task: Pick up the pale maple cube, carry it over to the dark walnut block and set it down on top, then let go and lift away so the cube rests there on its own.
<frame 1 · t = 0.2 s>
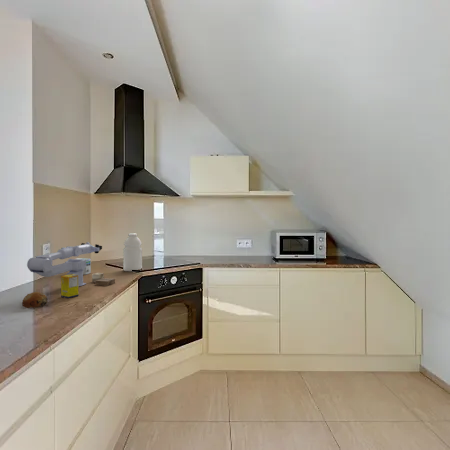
hand: (96, 247, 211), 21 cm above the worktop, tool horizontal, fingers open, 7 cm apart
maple cube: (98, 281, 205), on the worktop
light bulb box: (81, 274, 231), on the worktop
bread roll: (35, 306, 149), on the worktop
walnut block: (105, 284, 197), on the worktop
supplement box: (69, 296, 166), on the worktop
bottle: (132, 270, 249), on the worktop
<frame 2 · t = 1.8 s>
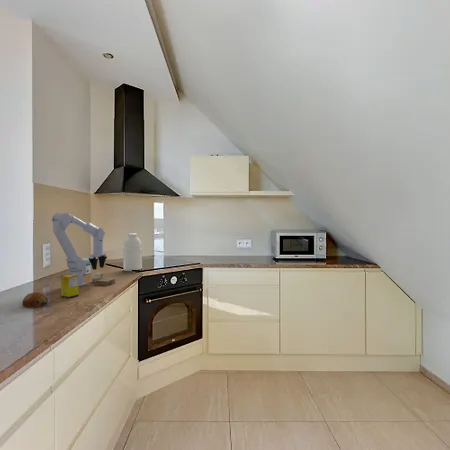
hand: (98, 268, 205), 8 cm above the worktop, tool pointing down, fingers open, 7 cm apart
nothing on the worktop moved.
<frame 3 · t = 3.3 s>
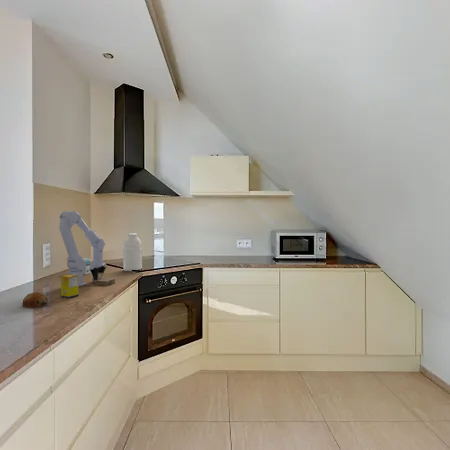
hand: (98, 279, 205), 1 cm above the worktop, tool pointing down, fingers closed on maple cube, 5 cm apart
maple cube: (98, 281, 205), on the worktop, touching gripper
everything else where it was.
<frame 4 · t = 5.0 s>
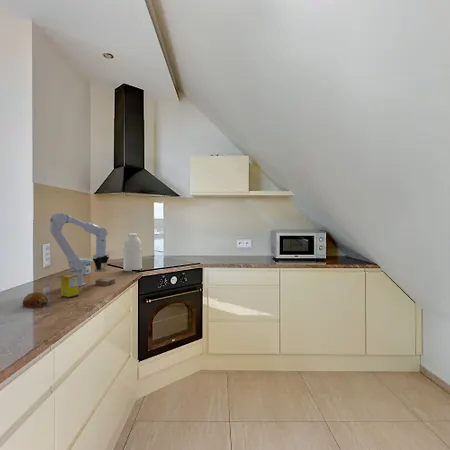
hand: (101, 268, 202), 8 cm above the worktop, tool pointing down, fingers closed on maple cube, 5 cm apart
maple cube: (101, 271, 202), point 7 cm above the worktop, touching gripper
everything else where it was.
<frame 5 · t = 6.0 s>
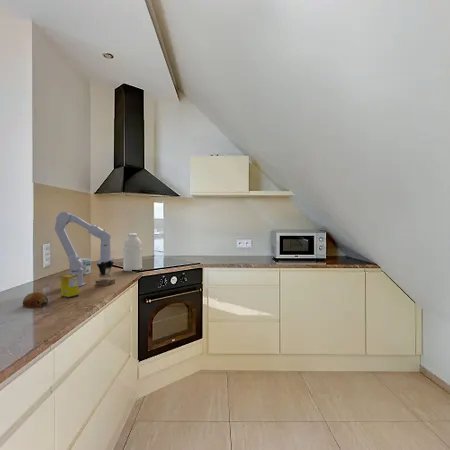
hand: (105, 274, 197), 6 cm above the worktop, tool pointing down, fingers closed on maple cube, 5 cm apart
maple cube: (105, 276, 197), point 4 cm above the worktop, touching gripper
everything else where it was.
when the fingers open (6 cm above the worktop, at t = 6.8 s): maple cube drops 2 cm, resting on walnut block.
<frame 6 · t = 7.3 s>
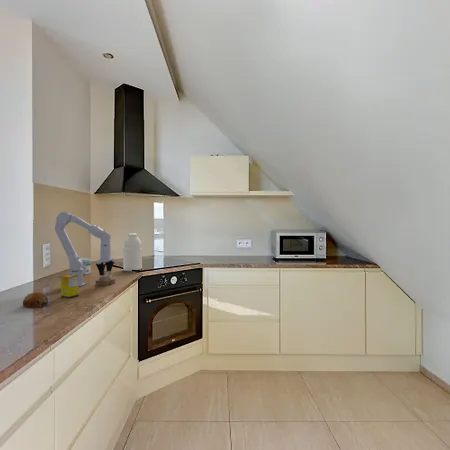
hand: (105, 274, 197), 6 cm above the worktop, tool pointing down, fingers open, 7 cm apart
maple cube: (105, 279, 197), point 3 cm above the worktop, touching walnut block
walnut block: (105, 284, 197), on the worktop, touching maple cube
everything else where it was.
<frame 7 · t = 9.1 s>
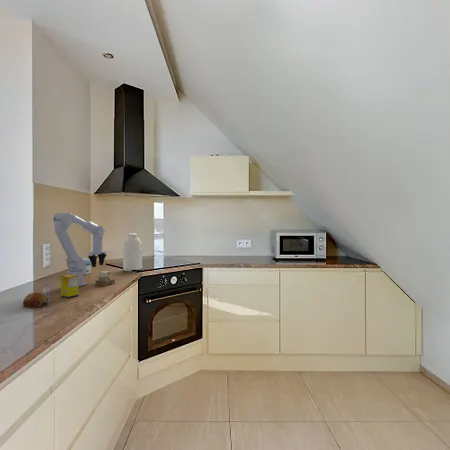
hand: (97, 266, 206), 9 cm above the worktop, tool pointing down, fingers open, 7 cm apart
nothing on the worktop moved.
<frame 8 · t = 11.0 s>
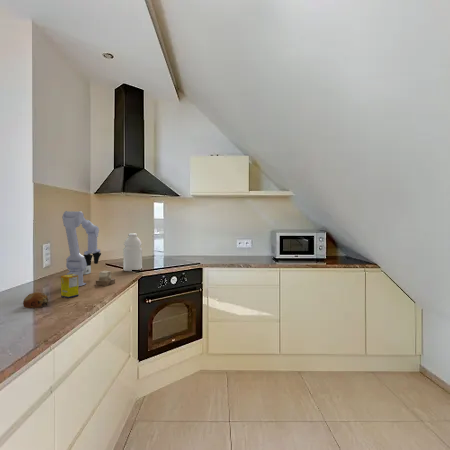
hand: (92, 264, 212), 9 cm above the worktop, tool pointing down, fingers open, 7 cm apart
nothing on the worktop moved.
at the end: maple cube 0.3 cm off-centre on the walnut block, point 3.0 cm above the walnut block's base; maple cube tilted 1°; the gripper is holding nothing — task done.
